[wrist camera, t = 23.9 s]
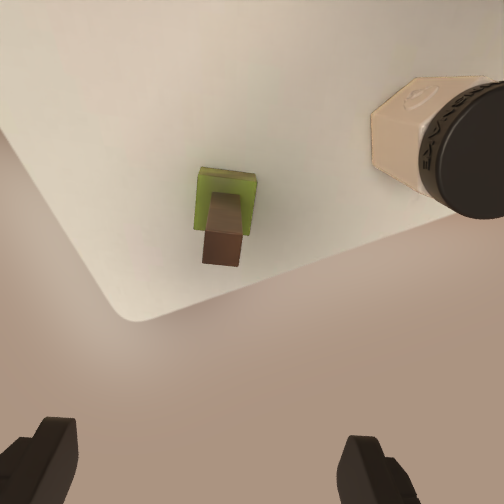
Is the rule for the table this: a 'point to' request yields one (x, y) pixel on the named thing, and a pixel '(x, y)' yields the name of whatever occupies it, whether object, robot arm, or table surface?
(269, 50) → the table surface
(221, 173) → the green-headed mallet
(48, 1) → the table surface
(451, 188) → the jar
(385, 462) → the robot arm
